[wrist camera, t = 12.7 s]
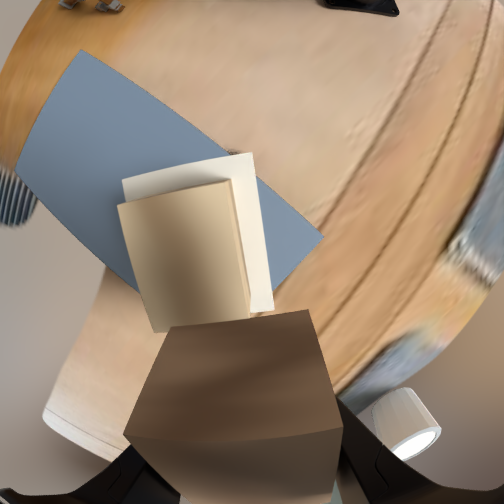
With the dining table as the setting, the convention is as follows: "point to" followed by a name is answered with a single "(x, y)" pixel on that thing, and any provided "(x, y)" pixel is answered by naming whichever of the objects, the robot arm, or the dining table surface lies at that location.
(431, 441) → the shot glass
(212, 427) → the walnut block
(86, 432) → the dining table surface
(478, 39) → the dining table surface
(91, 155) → the board
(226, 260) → the beech block
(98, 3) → the wooden post with brackets
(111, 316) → the dining table surface
